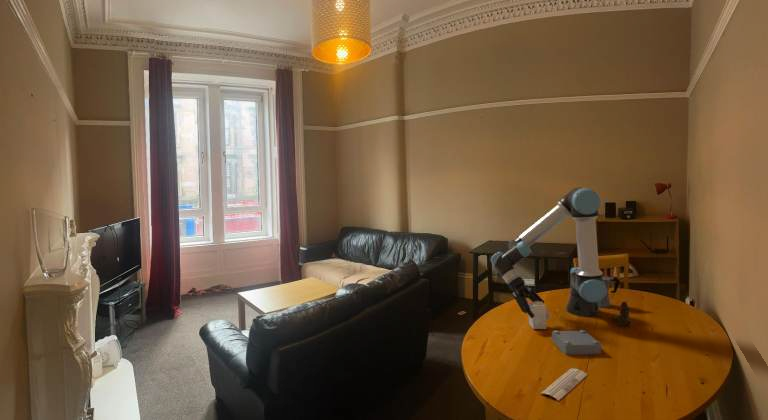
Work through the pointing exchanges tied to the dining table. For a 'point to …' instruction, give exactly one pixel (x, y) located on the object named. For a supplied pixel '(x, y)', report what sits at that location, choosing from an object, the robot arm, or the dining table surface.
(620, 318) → the dark figurine
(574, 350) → the base plate
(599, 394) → the dining table surface
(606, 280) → the coffeepot
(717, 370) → the dining table surface
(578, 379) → the newspaper
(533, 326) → the tower brick
